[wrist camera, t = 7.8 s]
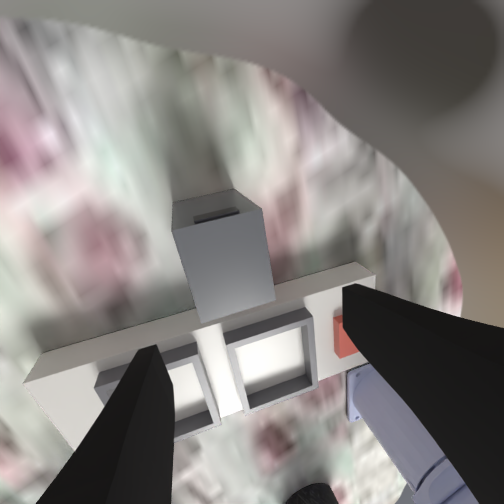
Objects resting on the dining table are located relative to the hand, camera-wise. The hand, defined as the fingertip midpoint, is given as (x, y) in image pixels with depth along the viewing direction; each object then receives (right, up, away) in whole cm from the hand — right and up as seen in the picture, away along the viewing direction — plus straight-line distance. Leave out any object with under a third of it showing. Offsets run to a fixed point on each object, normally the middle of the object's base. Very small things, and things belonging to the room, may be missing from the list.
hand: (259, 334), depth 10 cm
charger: (-3, +5, +8) cm, 9 cm away
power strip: (-2, -5, +12) cm, 13 cm away
